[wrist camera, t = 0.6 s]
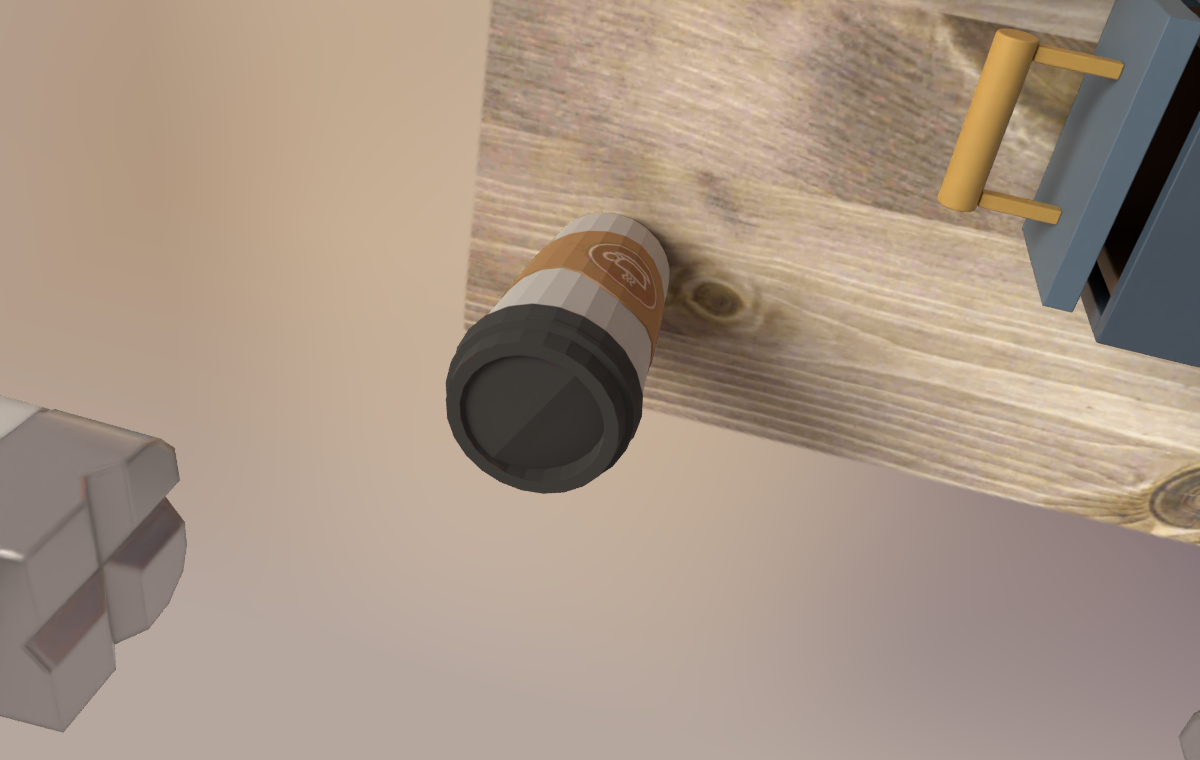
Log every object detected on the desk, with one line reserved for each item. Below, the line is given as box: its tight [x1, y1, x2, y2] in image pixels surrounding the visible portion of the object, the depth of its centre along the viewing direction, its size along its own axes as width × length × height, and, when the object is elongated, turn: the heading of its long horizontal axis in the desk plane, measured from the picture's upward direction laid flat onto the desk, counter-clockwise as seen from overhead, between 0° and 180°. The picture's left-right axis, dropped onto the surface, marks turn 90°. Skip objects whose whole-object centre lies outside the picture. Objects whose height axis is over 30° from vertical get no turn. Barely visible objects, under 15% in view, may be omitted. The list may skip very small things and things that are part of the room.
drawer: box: [938, 0, 1200, 312], centre depth 42 cm, size 18×11×8 cm, turn 81°
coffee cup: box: [446, 212, 670, 493], centre depth 49 cm, size 8×8×15 cm
